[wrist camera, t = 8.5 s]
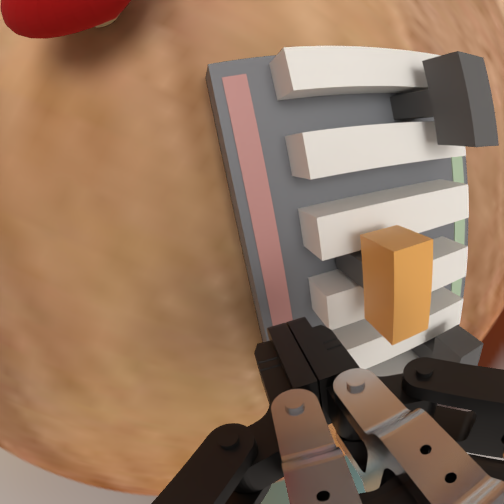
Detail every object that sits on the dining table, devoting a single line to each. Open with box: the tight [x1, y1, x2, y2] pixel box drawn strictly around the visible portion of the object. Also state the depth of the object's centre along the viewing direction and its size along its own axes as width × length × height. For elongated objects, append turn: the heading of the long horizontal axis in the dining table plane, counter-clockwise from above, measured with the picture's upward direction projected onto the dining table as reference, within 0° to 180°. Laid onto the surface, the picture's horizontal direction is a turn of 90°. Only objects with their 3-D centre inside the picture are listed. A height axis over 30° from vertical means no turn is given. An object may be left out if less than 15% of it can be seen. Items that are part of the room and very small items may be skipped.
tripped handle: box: [335, 225, 433, 345], centre depth 16 cm, size 2×5×7 cm, turn 12°
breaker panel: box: [206, 46, 499, 406], centre depth 18 cm, size 19×26×10 cm
